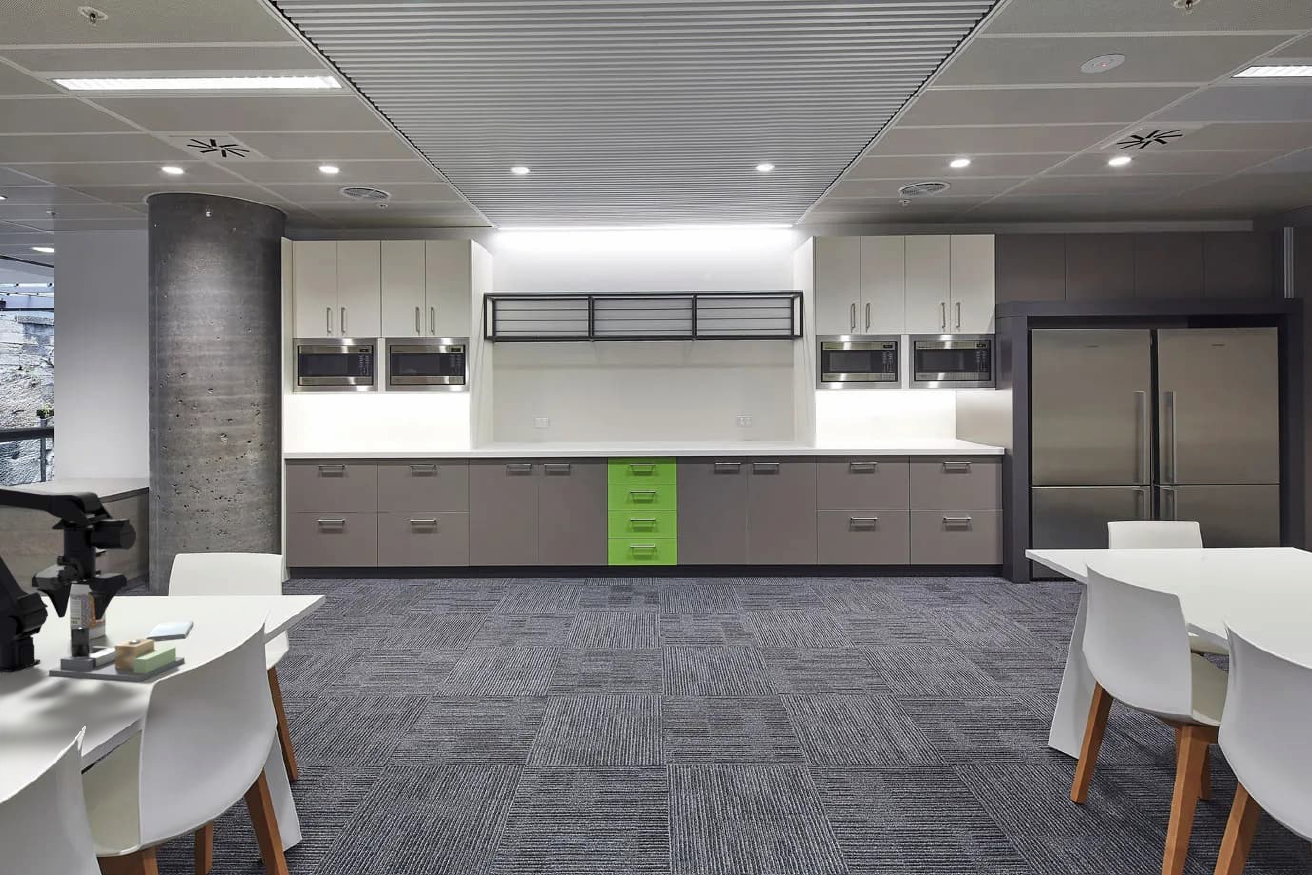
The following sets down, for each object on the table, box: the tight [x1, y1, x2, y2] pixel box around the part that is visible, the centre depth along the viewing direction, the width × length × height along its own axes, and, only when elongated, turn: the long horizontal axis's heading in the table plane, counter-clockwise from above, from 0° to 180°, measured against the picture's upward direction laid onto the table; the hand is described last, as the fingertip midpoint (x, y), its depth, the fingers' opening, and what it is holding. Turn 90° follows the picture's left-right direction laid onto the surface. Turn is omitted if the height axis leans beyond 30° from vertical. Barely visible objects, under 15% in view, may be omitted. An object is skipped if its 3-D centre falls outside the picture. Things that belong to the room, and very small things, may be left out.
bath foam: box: [69, 574, 107, 640], centre depth 181 cm, size 7×7×20 cm
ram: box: [69, 626, 115, 667], centre depth 161 cm, size 9×6×7 cm
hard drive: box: [145, 620, 194, 641], centre depth 186 cm, size 2×8×12 cm
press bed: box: [48, 645, 185, 682], centre depth 160 cm, size 22×12×4 cm, turn 83°
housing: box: [114, 638, 155, 669], centre depth 160 cm, size 5×5×5 cm
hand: (79, 618), depth 161 cm, fingers open, 9 cm apart
